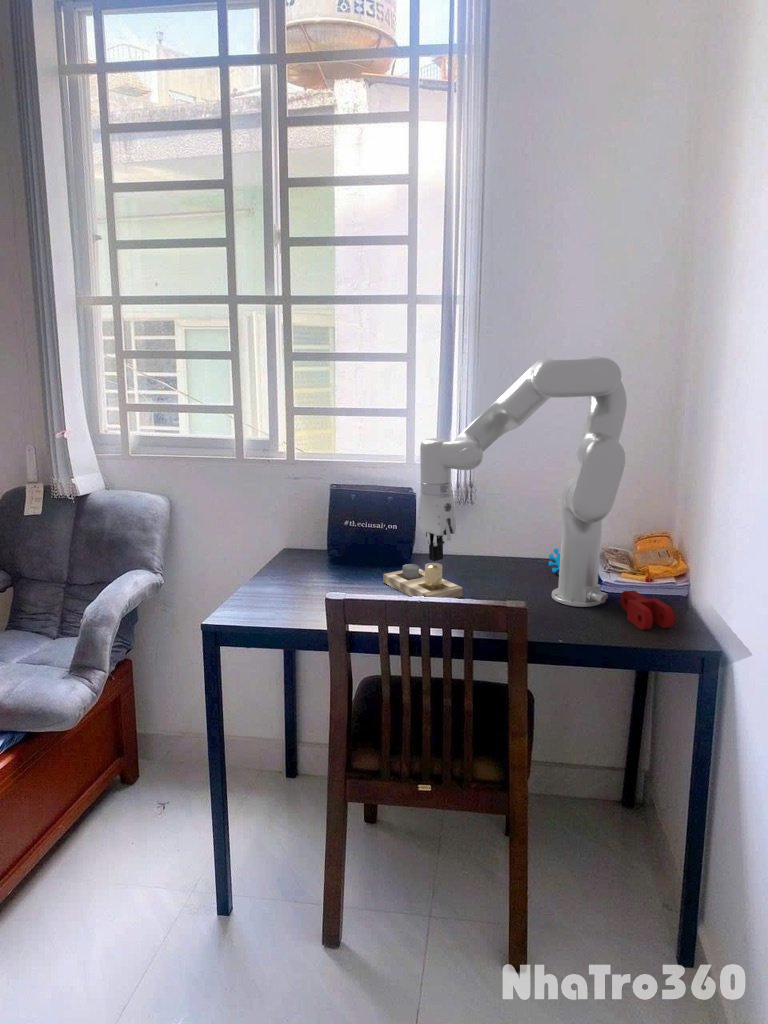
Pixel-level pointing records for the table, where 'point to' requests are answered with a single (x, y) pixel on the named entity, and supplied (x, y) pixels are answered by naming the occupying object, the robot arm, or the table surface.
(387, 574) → the jig
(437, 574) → the gold metallic cylinder
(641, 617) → the mechanical linkage
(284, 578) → the table surface
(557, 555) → the gear
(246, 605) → the table surface
